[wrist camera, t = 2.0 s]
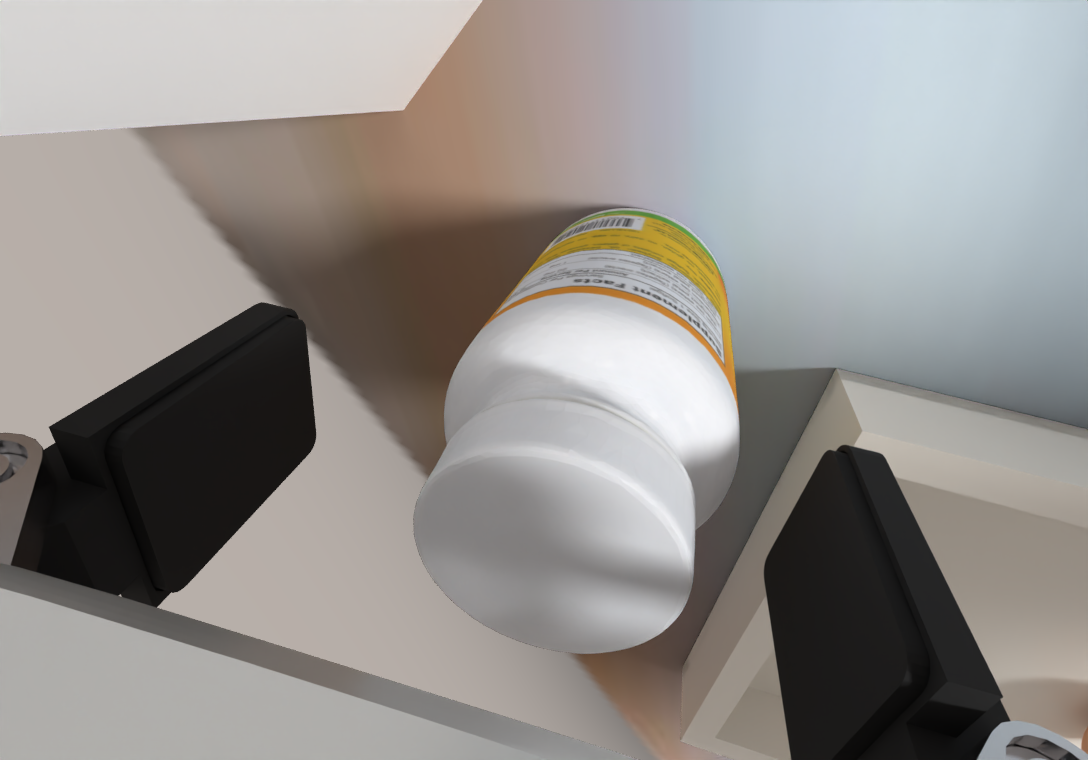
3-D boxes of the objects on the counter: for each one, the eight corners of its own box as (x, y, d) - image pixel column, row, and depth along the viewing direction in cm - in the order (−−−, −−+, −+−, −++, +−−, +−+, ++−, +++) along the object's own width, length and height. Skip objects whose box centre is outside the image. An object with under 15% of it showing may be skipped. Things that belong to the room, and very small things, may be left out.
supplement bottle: (648, 412, 17) (598, 727, 9) (504, 317, 17) (321, 561, 9) (771, 280, 14) (857, 572, 6) (601, 161, 14) (459, 311, 6)
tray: (1630, 560, 13) (1855, 684, 10) (1152, 818, 21) (1213, 922, 18) (836, 368, 15) (863, 430, 13) (682, 667, 23) (679, 741, 21)
